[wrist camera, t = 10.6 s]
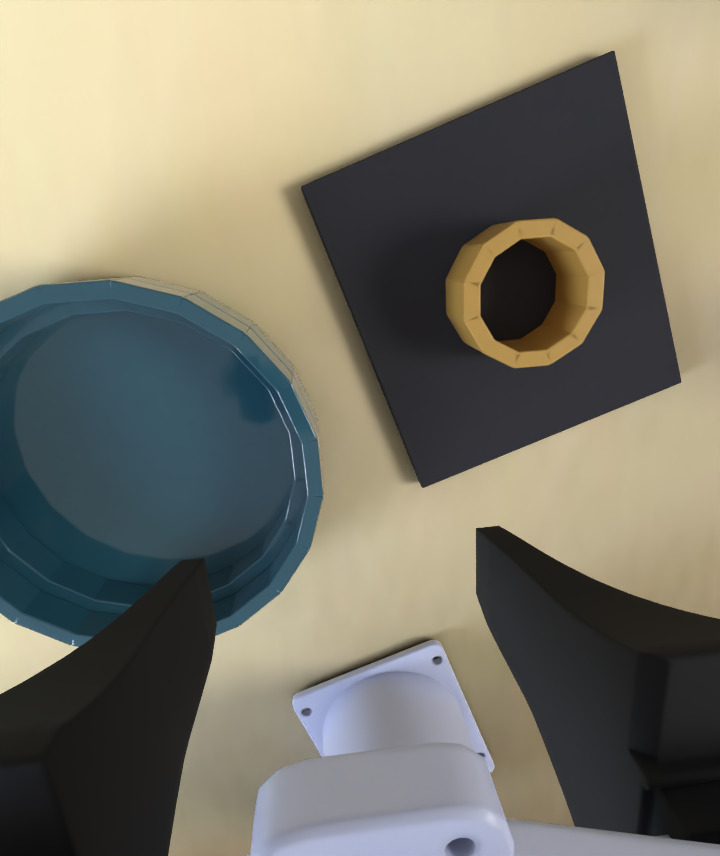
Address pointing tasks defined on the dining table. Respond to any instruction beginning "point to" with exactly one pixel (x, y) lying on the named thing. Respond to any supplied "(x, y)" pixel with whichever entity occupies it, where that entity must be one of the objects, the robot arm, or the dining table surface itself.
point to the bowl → (146, 454)
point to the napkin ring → (573, 291)
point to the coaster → (499, 268)
